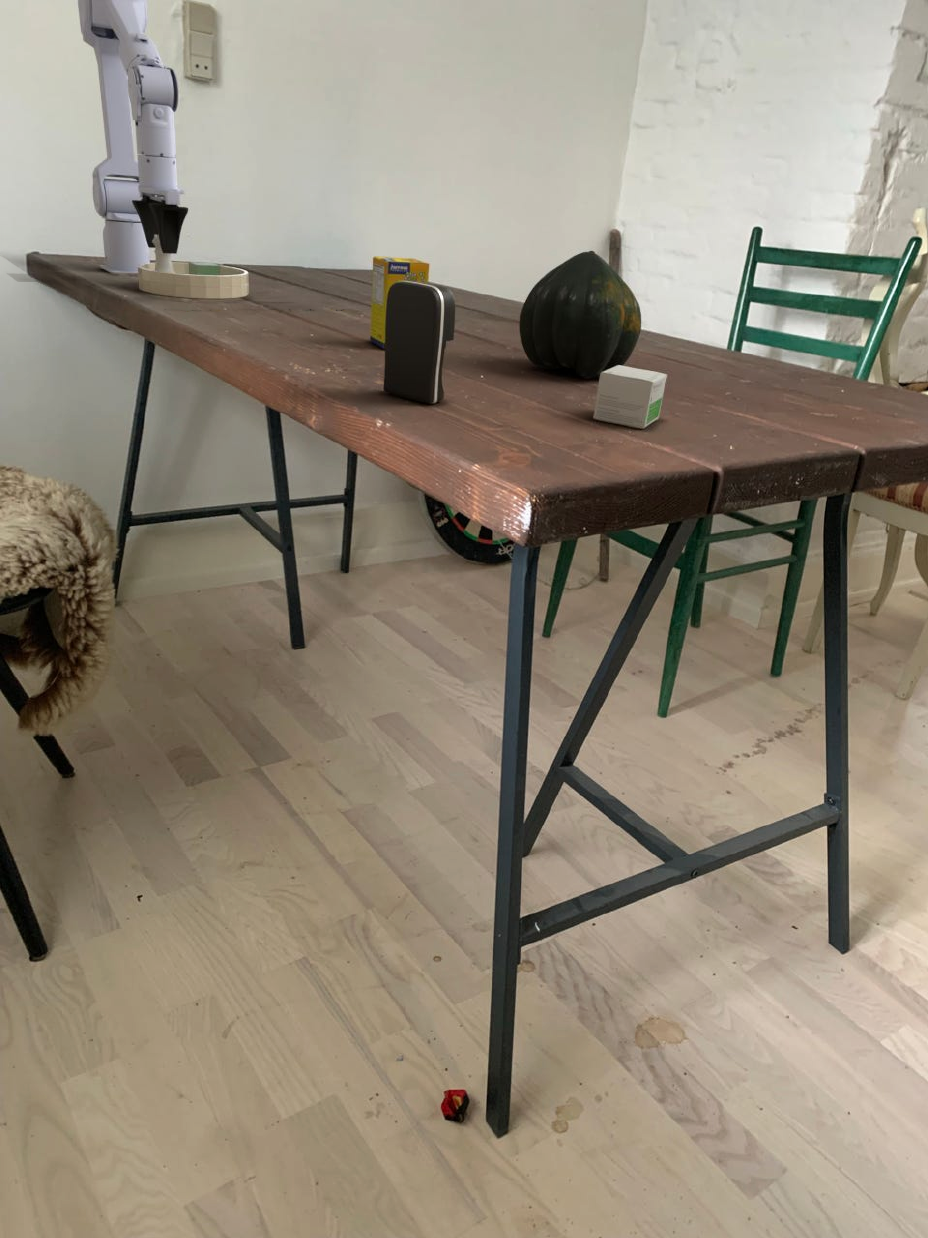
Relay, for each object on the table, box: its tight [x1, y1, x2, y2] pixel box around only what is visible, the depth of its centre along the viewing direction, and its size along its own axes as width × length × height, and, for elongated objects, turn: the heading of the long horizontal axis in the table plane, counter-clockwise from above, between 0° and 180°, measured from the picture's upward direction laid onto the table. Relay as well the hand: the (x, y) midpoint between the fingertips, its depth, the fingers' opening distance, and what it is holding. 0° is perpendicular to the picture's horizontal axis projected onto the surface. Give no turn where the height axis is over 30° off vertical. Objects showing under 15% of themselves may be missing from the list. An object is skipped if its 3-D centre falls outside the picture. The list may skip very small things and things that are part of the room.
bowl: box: [137, 261, 250, 300], centre depth 148 cm, size 17×17×4 cm
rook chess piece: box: [152, 234, 175, 273], centre depth 147 cm, size 4×4×8 cm
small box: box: [592, 365, 668, 430], centre depth 93 cm, size 6×6×5 cm
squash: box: [518, 250, 642, 380], centre depth 113 cm, size 14×15×15 cm
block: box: [188, 261, 221, 276], centre depth 151 cm, size 4×4×4 cm
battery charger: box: [383, 281, 456, 404], centre depth 93 cm, size 7×4×11 cm, turn 52°
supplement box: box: [369, 255, 430, 350], centre depth 119 cm, size 6×6×11 cm
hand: (162, 250), depth 146 cm, fingers open, 7 cm apart
